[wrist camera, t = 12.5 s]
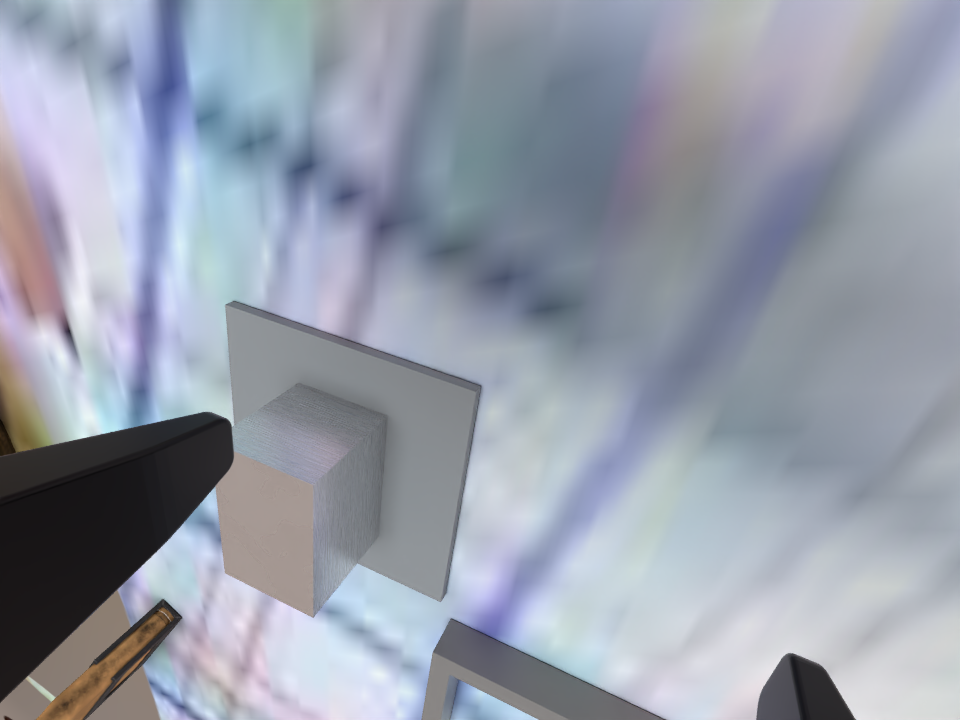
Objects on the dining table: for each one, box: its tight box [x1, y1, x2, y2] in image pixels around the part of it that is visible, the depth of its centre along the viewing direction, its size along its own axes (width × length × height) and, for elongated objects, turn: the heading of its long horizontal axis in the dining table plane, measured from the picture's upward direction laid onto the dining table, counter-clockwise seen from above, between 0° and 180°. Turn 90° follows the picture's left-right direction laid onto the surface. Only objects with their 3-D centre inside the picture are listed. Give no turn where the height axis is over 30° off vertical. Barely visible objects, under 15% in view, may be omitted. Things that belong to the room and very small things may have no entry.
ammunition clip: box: [36, 599, 182, 720], centre depth 37 cm, size 11×2×12 cm, turn 141°
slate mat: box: [225, 301, 481, 602], centre depth 26 cm, size 12×12×1 cm
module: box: [216, 383, 388, 618], centre depth 24 cm, size 4×7×5 cm, turn 171°
